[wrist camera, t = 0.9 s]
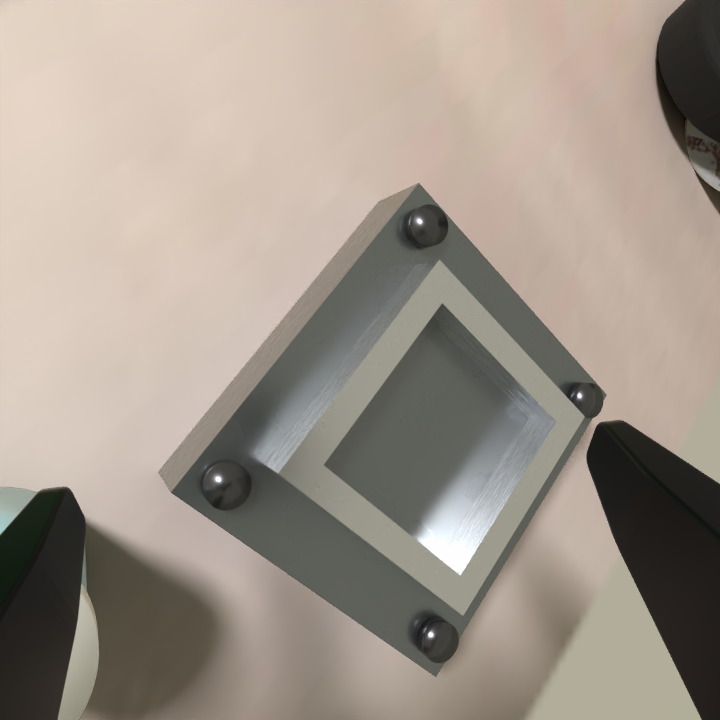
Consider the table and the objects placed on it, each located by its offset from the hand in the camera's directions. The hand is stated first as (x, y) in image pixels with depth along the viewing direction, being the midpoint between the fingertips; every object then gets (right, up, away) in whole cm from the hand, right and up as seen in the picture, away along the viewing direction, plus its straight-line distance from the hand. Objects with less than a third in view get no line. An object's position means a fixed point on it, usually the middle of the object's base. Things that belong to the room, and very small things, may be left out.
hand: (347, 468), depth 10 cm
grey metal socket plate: (+1, -1, +14) cm, 14 cm away
